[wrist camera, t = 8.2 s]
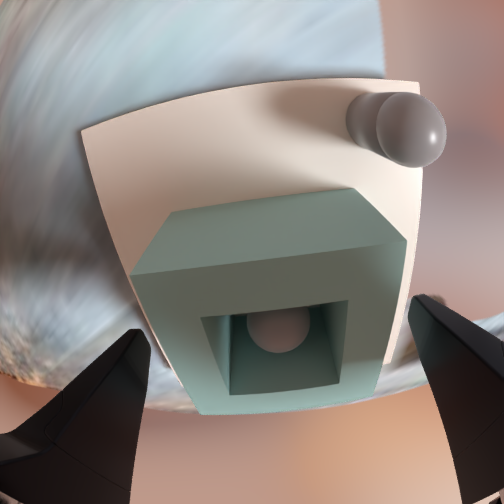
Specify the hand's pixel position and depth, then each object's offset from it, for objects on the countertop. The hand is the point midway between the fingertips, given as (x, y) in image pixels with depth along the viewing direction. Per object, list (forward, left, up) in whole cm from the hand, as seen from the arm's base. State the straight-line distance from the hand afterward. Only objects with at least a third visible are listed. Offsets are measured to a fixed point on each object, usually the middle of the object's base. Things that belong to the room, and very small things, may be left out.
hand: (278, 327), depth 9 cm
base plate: (0, 0, -4) cm, 4 cm away
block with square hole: (0, 0, -3) cm, 3 cm away
